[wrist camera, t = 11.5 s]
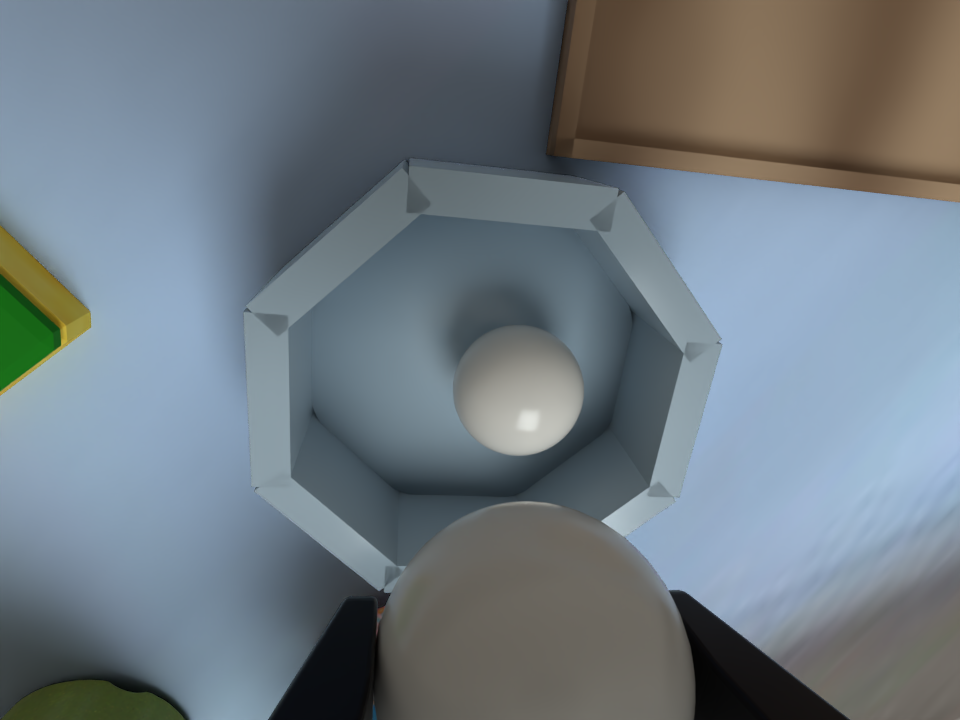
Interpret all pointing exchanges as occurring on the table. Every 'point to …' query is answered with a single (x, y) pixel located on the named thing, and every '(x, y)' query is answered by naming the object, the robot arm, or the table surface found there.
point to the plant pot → (90, 704)
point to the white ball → (518, 390)
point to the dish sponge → (32, 313)
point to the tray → (767, 90)
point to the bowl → (442, 342)
